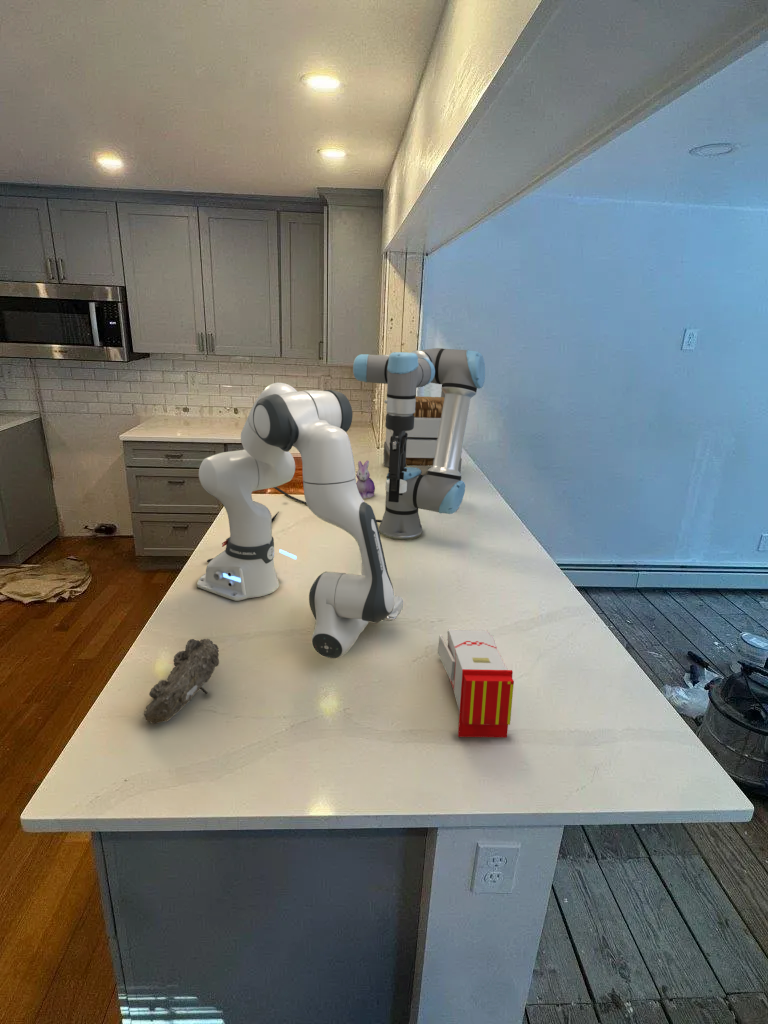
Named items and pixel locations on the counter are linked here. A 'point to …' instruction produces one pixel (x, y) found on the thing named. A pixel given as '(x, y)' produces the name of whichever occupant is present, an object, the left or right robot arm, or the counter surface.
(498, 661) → the toy
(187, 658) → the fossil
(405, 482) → the white cylinder
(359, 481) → the figurine
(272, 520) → the feather
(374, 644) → the counter surface
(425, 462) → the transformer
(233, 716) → the counter surface
